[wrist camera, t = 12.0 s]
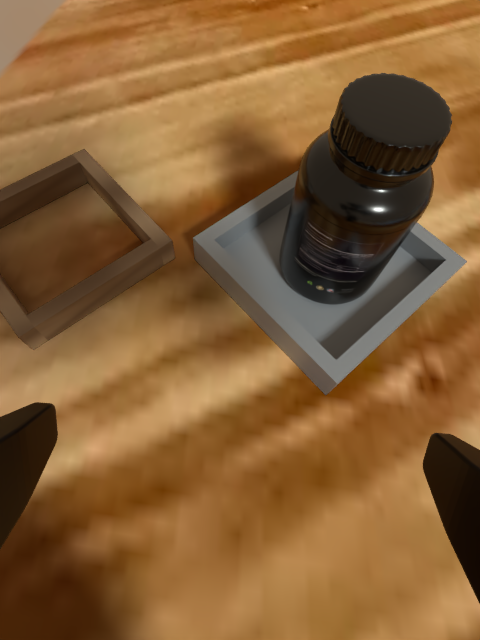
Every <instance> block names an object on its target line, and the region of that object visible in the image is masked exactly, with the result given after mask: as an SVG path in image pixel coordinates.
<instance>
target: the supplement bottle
mask: <svg viewBox="0 0 480 640" xmlns="http://www.w3.org/2000/svg"><path fill="white" fill-rule="evenodd" d="M449 109H450V108H449V106H448V105H447V104H446V101H445V100H444V99H443V98H441V96H440V94H439V93H437V92H435V91H434V90H433V89H432V88H431V87H429V86H427V85H425V84H424V83H423V82H419V81H417V80H415V79H414V78H408V77H406V76H404V75H396V74H386V73H381V74H371V75H367V76H363V77H362V78H358V79H356V80H355V81H354V82H351V83H349V85H348V87H346V88H345V89H344V90H343V93H342V95H341V97H340V99H339V102H338V105H337V109H336V112H335V115H334V117H333V119H332V121H331V124H330V128H329V129H328V130H327V131H325V132H323V133H322V134H321V135H319V136H318V137H317V138H316V139H315V140H314V141H313V142H312V143H311V144H310V145H309V147H308V148H307V149H306V151H305V153H304V155H303V157H302V160H301V164H300V167H299V171H298V175H297V179H296V183H295V187H294V192H293V196H292V200H291V204H290V209H289V213H288V217H287V221H286V226H285V230H284V234H283V238H282V243H281V248H280V255H279V261H280V267H281V270H282V273H283V275H284V277H285V279H286V281H287V282H288V283H289V285H290V286H291V287H292V288H293V289H294V290H295V291H296V292H298V293H299V294H300V295H302V296H303V297H305V298H307V299H309V300H311V301H314V302H317V303H321V304H329V305H337V304H344V303H348V302H351V301H354V300H356V299H358V298H359V297H361V296H362V295H364V294H365V293H366V292H367V291H368V290H369V289H370V287H371V286H372V285H373V283H374V282H375V281H376V279H377V278H378V277H379V275H380V274H381V272H382V271H383V270H384V268H385V267H386V265H387V264H388V262H389V261H390V260H391V258H392V257H393V255H394V254H395V253H396V251H397V250H398V248H399V247H400V245H401V244H402V243H403V241H404V240H405V238H406V237H407V236H408V234H409V233H410V231H411V230H412V229H413V227H414V226H415V224H416V223H417V221H418V220H419V219H420V217H421V216H422V214H423V213H424V211H425V210H426V208H427V206H428V204H429V202H430V200H431V197H432V194H433V187H434V178H433V171H432V167H431V165H432V164H433V163H434V161H435V159H436V157H437V155H438V151H439V148H440V147H441V145H442V144H443V142H444V140H445V139H446V137H447V136H448V134H449V132H450V127H451V124H452V120H451V116H452V114H451V113H450V111H449Z"/></svg>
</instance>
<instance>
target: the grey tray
mask: <svg viewBox="0 0 480 640" xmlns="http://www.w3.org/2000/svg"><path fill="white" fill-rule="evenodd" d="M298 171H299V170H298ZM298 171H296V172H295V173H293V174H292V175H290V176H288V177H287V178H285V179H284V180H282V181H281V182H279V183H278V184H276V185H274V186H273V187H271V188H270V189H268V190H267V191H265V192H263V193H262V194H260V195H259V196H257V197H256V198H254V199H253V200H251V201H249V202H248V203H246V204H245V205H243V206H242V207H240V208H238V209H237V210H235V211H234V212H232V213H231V214H229V215H228V216H226V217H224V218H223V219H221V220H220V221H218V222H217V223H215V224H214V225H212V226H210V227H209V228H207V229H206V230H204V231H203V232H201V233H199V234H198V235H196V236H195V237H193V245H194V255H195V260H196V261H197V262H198V263H199V264H200V265H201V266H202V267H203V268H204V270H205V271H206V272H207V273H208V274H209V275H210V276H211V277H212V278H213V279H214V280H215V281H216V282H217V283H218V284H219V285H220V286H221V287H222V288H223V289H224V290H225V291H226V292H227V293H228V294H229V295H230V296H231V298H232V299H233V300H234V301H235V302H236V303H237V304H238V305H239V306H240V307H241V308H242V309H243V310H244V311H245V312H246V313H247V314H248V315H249V316H250V317H251V318H252V319H253V320H254V321H255V322H256V323H257V324H258V325H259V327H260V328H261V329H262V330H263V331H264V332H265V333H266V334H267V335H268V336H269V337H270V338H271V339H272V340H273V341H274V342H275V343H276V344H277V345H278V346H279V347H280V348H281V349H282V350H283V351H284V352H285V353H286V355H287V356H288V357H289V358H290V359H291V360H292V361H293V362H294V363H295V364H296V365H297V366H298V367H299V368H300V369H301V370H302V371H303V372H304V373H305V374H306V375H307V376H308V377H309V378H310V379H311V380H312V381H313V383H314V384H315V385H316V386H317V387H318V388H319V389H320V390H321V391H322V392H323V393H324V394H325V395H327V394H328V393H329V392H330V391H331V390H332V389H333V388H334V387H335V386H336V385H337V384H338V383H340V382H341V381H342V380H343V379H344V378H345V377H346V376H347V375H348V374H349V373H350V372H351V371H352V370H353V369H354V368H355V367H357V366H358V365H359V364H360V363H361V362H362V361H363V360H364V359H365V358H366V357H367V356H368V355H369V354H370V353H371V352H372V351H373V350H375V349H376V348H377V347H378V346H379V345H380V344H381V343H382V342H383V341H384V340H385V339H386V338H387V337H388V336H389V335H390V334H392V333H393V332H394V331H395V330H396V329H397V328H398V327H399V326H400V325H401V324H402V323H403V322H404V321H405V320H406V319H407V318H408V317H410V316H411V315H412V314H413V313H414V312H415V311H416V310H417V309H418V308H419V307H420V306H421V305H422V304H423V303H424V302H425V301H426V300H428V299H429V298H430V297H431V296H432V295H433V294H434V293H435V292H436V291H437V290H438V289H439V288H440V287H441V286H442V285H443V284H445V283H446V282H447V281H448V280H449V279H450V278H451V277H452V276H453V275H454V274H455V273H456V272H457V271H458V270H459V269H460V268H461V267H462V266H463V265H464V264H465V263H466V262H467V261H466V260H465V259H463V258H462V257H461V256H460V255H458V254H457V253H456V252H454V251H453V250H452V249H451V248H449V247H448V246H447V245H445V244H444V243H443V242H441V241H440V240H439V239H438V238H436V237H435V236H434V235H432V234H431V233H430V232H429V231H427V230H426V229H425V228H423V227H422V226H421V225H420V224H418V223H416V224H415V226H414V227H413V229H412V230H411V231H410V233H409V234H408V236H407V237H406V238H405V240H404V241H403V243H402V244H401V245H400V247H399V248H398V250H397V251H396V253H395V254H394V255H393V257H392V258H391V260H390V261H389V262H388V264H387V265H386V267H385V268H384V270H383V271H382V272H381V274H380V275H379V277H378V278H377V279H376V281H375V282H374V283H373V285H372V286H371V287H370V289H369V290H368V291H367V292H366V293H365V294H364V295H362V296H361V297H359V298H358V299H356V300H354V301H351V302H348V303H344V304H337V305H329V304H321V303H317V302H314V301H311V300H309V299H307V298H305V297H303V296H302V295H300V294H299V293H298V292H296V291H295V290H294V289H293V288H292V287H291V286H290V285H289V283H288V282H287V281H286V279H285V277H284V275H283V273H282V270H281V267H280V261H279V255H280V248H281V243H282V238H283V234H284V230H285V226H286V221H287V217H288V213H289V209H290V204H291V200H292V196H293V192H294V187H295V183H296V179H297V175H298Z"/></svg>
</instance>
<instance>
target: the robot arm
mask: <svg viewBox="0 0 480 640" xmlns="http://www.w3.org/2000/svg"><path fill="white" fill-rule="evenodd" d="M57 436H58V431H57V420H56V410H55V407H54V405H53V404H50V403H38V402H37V403H33V404H30V405H28V406H26V407H23V408H21V409H18V410H16V411H14V412H11V413H9V414H7V415H4V416H2V417H0V549H1V547H2V546H3V544H4V542H5V541H6V539H7V537H8V536H9V534H10V532H11V531H12V529H13V527H14V526H15V524H16V522H17V521H18V519H19V517H20V516H21V514H22V512H23V510H24V509H25V507H26V505H27V503H28V502H29V500H30V498H31V496H32V494H33V491H34V489H35V487H36V485H37V483H38V481H39V479H40V476H41V474H42V472H43V470H44V468H45V466H46V464H47V461H48V459H49V457H50V455H51V453H52V451H53V449H54V446H55V444H56V441H57ZM423 470H424V473H425V476H426V479H427V482H428V485H429V487H430V490H431V493H432V496H433V498H434V501H435V504H436V507H437V510H438V512H439V515H440V518H441V521H442V523H443V526H444V528H445V531H446V533H447V536H448V538H449V540H450V542H451V544H452V547H453V549H454V551H455V553H456V555H457V557H458V559H459V561H460V563H461V565H462V568H463V570H464V572H465V574H466V576H467V578H468V580H469V582H470V584H471V587H472V589H473V591H474V593H475V595H476V597H477V599H478V601H479V603H480V450H479V449H477V448H475V447H473V446H471V445H470V444H468V443H466V442H464V441H462V440H461V439H459V438H457V437H455V436H454V435H451V434H443V433H434V434H432V435H431V437H430V439H429V443H428V446H427V450H426V453H425V456H424V460H423Z"/></svg>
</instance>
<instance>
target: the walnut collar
mask: <svg viewBox="0 0 480 640" xmlns="http://www.w3.org/2000/svg"><path fill="white" fill-rule="evenodd" d="M86 183H89V185H90V186H91V187H92V188H93V189H94V190H95V191H96V192H97V193H98V194H99V195H100V196H101V198H102V199H103V200H104V201H105V202H106V203H107V204H108V205H109V206H110V207H111V208H112V210H113V211H114V212H115V213H116V214H117V215H118V216H119V217H120V218H121V219H122V220H123V221H124V223H125V224H126V225H127V226H128V227H129V228H130V229H131V230H132V231H133V232H134V233H135V234H136V236H137V237H138V238H139V239H140V240H141V241H142V242H143V244H142V245H140V246H139V247H137V248H135V249H134V250H132V251H130V252H129V253H127V254H126V255H124V256H122V257H121V258H119V259H117V260H116V261H114V262H113V263H111V264H109V265H108V266H106V267H104V268H103V269H101V270H99V271H98V272H96V273H95V274H93V275H91V276H90V277H88V278H86V279H85V280H83V281H82V282H80V283H78V284H77V285H75V286H73V287H72V288H70V289H69V290H67V291H65V292H64V293H62V294H60V295H59V296H57V297H56V298H54V299H52V300H51V301H49V302H47V303H46V304H44V305H43V306H41V307H39V308H38V309H36V310H34V311H33V312H31V313H28V312H27V311H26V309H25V308H24V306H23V305H22V304H21V302H20V301H19V299H18V298H17V297H16V295H15V294H14V292H13V291H12V290H11V288H10V287H9V286H8V284H7V283H6V281H5V280H4V279H3V277H2V276H1V274H0V311H1V313H2V314H3V316H4V317H5V319H6V320H7V322H8V323H9V325H10V326H11V327H12V329H13V330H14V332H15V333H16V335H17V336H18V338H20V339H21V340H22V341H23V342H24V343H26V344H27V345H28V346H29V347H30V348H32V349H33V350H34V349H36V348H37V347H39V346H40V345H42V344H43V343H45V342H47V341H48V340H50V339H51V338H53V337H54V336H56V335H57V334H59V333H60V332H62V331H63V330H65V329H67V328H68V327H70V326H71V325H73V324H74V323H76V322H77V321H79V320H80V319H82V318H83V317H85V316H87V315H88V314H90V313H91V312H93V311H94V310H96V309H97V308H99V307H100V306H102V305H103V304H105V303H107V302H108V301H110V300H111V299H113V298H114V297H116V296H117V295H119V294H120V293H122V292H123V291H125V290H127V289H128V288H130V287H131V286H133V285H134V284H136V283H137V282H139V281H140V280H142V279H143V278H145V277H147V276H148V275H150V274H151V273H153V272H154V271H156V270H157V269H159V268H160V267H162V266H163V265H165V264H167V263H168V262H170V261H171V260H173V259H174V258H175V254H174V248H173V242H172V240H171V239H170V238H169V237H168V236H167V235H166V234H165V232H164V231H163V230H162V229H161V228H160V227H159V226H158V225H157V224H156V223H155V222H154V221H153V220H152V219H151V218H150V217H149V216H148V215H147V214H146V213H145V212H144V211H143V210H142V209H141V207H140V206H139V205H138V204H137V203H136V202H135V201H134V200H133V199H132V198H131V197H130V196H129V195H128V194H127V193H126V192H125V191H124V190H123V189H122V188H121V187H120V186H119V185H118V184H117V182H116V181H115V180H114V179H113V178H112V177H111V176H110V175H109V174H108V173H107V172H106V171H105V170H104V169H103V168H102V167H101V166H100V165H99V164H98V163H97V162H96V161H95V160H94V158H93V157H92V156H91V155H90V154H89V153H88V152H87V151H86V150H85V149H83V150H80V151H78V152H76V153H74V154H72V155H70V156H68V157H66V158H64V159H62V160H60V161H58V162H56V163H54V164H52V165H50V166H48V167H46V168H44V169H42V170H40V171H38V172H35V173H33V174H31V175H29V176H27V177H25V178H23V179H21V180H19V181H17V182H15V183H13V184H11V185H9V186H7V187H5V188H3V189H1V190H0V228H2V227H4V226H6V225H8V224H10V223H11V222H13V221H15V220H17V219H19V218H21V217H23V216H25V215H27V214H29V213H31V212H32V211H34V210H36V209H38V208H40V207H42V206H44V205H46V204H48V203H50V202H52V201H54V200H55V199H57V198H59V197H61V196H63V195H65V194H67V193H69V192H71V191H73V190H75V189H76V188H78V187H80V186H82V185H84V184H86Z"/></svg>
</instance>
